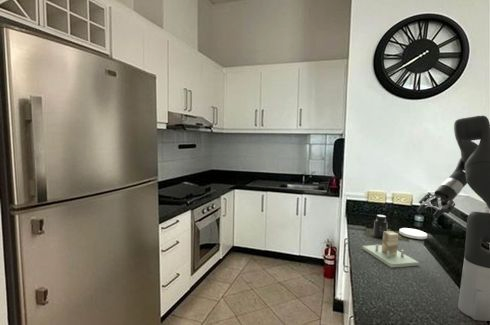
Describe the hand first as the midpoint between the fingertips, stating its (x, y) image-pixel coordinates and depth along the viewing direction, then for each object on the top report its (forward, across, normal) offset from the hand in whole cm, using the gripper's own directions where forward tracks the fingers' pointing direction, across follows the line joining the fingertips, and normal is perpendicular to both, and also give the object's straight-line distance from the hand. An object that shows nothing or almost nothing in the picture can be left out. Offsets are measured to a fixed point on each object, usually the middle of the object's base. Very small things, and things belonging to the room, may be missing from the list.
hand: (426, 214), depth 131 cm
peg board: (+24, -6, +6) cm, 26 cm away
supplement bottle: (+14, -30, +16) cm, 37 cm away
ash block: (+23, -6, +5) cm, 24 cm away
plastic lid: (-1, -28, +31) cm, 42 cm away
